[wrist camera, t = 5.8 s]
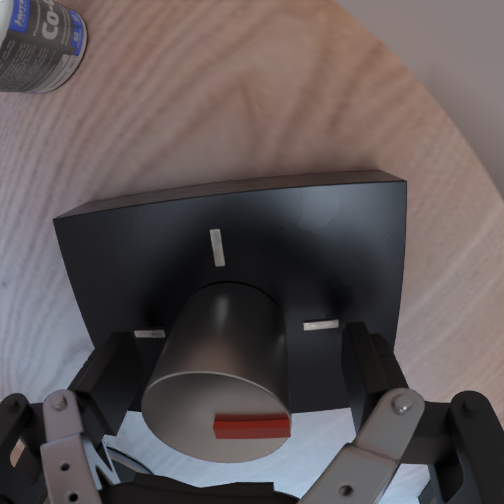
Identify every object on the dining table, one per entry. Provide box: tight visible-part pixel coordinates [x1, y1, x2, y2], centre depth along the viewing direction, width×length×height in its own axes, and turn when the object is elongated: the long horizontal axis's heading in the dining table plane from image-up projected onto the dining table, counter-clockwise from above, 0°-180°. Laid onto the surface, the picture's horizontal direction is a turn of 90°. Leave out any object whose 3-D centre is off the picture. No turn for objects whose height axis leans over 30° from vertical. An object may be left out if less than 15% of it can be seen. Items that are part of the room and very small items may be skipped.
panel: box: [53, 170, 407, 414], centre depth 14 cm, size 14×11×3 cm
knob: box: [141, 283, 292, 463], centre depth 10 cm, size 4×4×5 cm
